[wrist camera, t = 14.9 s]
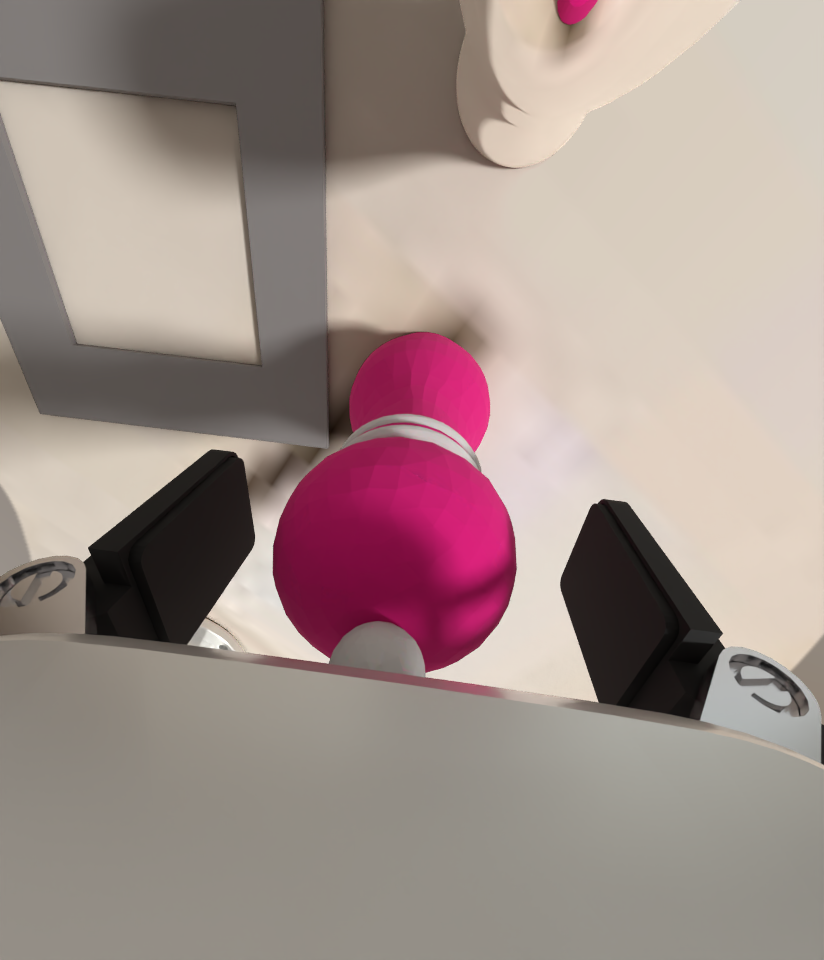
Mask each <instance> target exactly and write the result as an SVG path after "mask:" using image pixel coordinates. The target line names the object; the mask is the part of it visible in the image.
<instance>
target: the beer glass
mask: <svg viewBox="0 0 824 960" xmlns="http://www.w3.org/2000/svg"><path fill="white" fill-rule="evenodd" d="M459 1H460V7H461V12H462V17H463V21H464V25H465V29H466V34H465V36H464V40H463V43H462V47H461V51H460V55H459V60H458V67H457V76H456V96H457V105H458V111H459V115H460V119H461V122H462V125H463V127H464V130H465V132H466V134H467V136H468V138H469V139H470V141H471V142H472V144H473V145H474V146H475V148H476V149H477V150H478V151H479V152H480V153H481V154H482V155H483V156H484V157H486V158H487V159H489V160H490V161H492V162H494V163H496V164H498V165H501V166H505V167H511V168H521V167H527V166H531V165H535V164H537V163H540V162H542V161H544V160H546V159H547V158H549V157H550V156H552V155H553V154H555V153H556V152H557V151H558V150H560V149H561V148H562V147H563V146H564V145H565V144H566V143H567V142H568V141H569V139H570V138H571V137H572V136H573V135H574V133H575V132H576V131H577V129H578V128H579V126H580V125H581V123H582V122H583V120H584V118H585V116H586V114H587V113H588V112H591V111H593V110H595V109H598V108H600V107H602V106H605V105H607V104H609V103H610V102H612V101H614V100H616V99H618V98H619V97H621V96H623V95H625V94H626V93H628V92H630V91H632V90H633V89H635V88H637V87H639V86H640V85H642V84H643V83H645V82H646V81H648V80H650V79H651V78H652V77H654V76H655V75H656V74H658V73H659V72H660V71H662V70H663V69H664V68H665V67H667V66H668V65H669V64H670V63H671V62H673V61H674V60H675V59H676V58H678V57H679V56H680V55H681V54H683V53H684V52H685V51H686V50H688V49H689V48H690V47H691V46H692V45H694V44H695V43H696V42H697V41H698V40H700V39H701V38H702V37H703V36H704V35H705V34H706V33H707V32H708V31H710V30H711V29H712V28H713V27H714V26H715V25H716V24H717V23H718V22H719V21H720V20H721V19H722V18H723V17H724V16H725V15H726V14H727V13H729V12H730V11H731V10H732V9H733V8H734V7H735V6H736V5H737V4H738V3H739V2H740V1H741V0H459Z"/></svg>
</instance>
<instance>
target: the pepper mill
mask: <svg viewBox="0 0 824 960" xmlns="http://www.w3.org/2000/svg"><path fill="white" fill-rule="evenodd" d="M349 405H350V421H351V426H352V430H353V434H352V435H351V436H350V437H349V438H348V439H347V440H346V441H345V443H344V444H343V446H342V447H341V449H340V451H338V452H336V453H333V454H331V455H329V456H327V457H326V458H325V459H324V460H323V461H322V462H320V463H319V464H318V465H317V466H316V467H315V468H314V469H313V470H311V471H310V472H309V473H308V474H307V475H306V476H305V477H304V478H303V479H302V480H301V482H300V483H299V484H298V486H297V487H296V489H295V490H294V492H293V493H292V495H291V497H290V499H289V500H288V502H287V504H286V506H285V509H284V511H283V513H282V515H281V517H280V520H279V524H278V528H277V532H276V536H275V540H274V545H273V577H274V581H275V586H276V589H277V592H278V595H279V597H280V600H281V602H282V605H283V608H284V610H285V613H286V615H287V616H288V618H289V619H290V621H291V622H292V624H293V625H294V626H295V628H296V629H297V631H298V632H299V633H300V634H301V635H302V636H303V637H304V638H305V639H306V640H307V641H308V642H309V643H310V644H311V645H312V646H313V647H315V648H316V649H317V650H319V651H320V652H322V653H323V654H324V655H326V656H327V657H329V658H330V661H329V664H333V665H340V666H348V667H355V668H362V669H369V670H376V671H384V672H391V673H398V674H405V675H412V676H419V677H425V673H426V672H430V671H434V670H437V669H441V668H444V667H446V666H449V665H451V664H453V663H455V662H457V661H459V660H460V659H462V658H463V657H465V656H466V655H468V654H469V653H471V652H472V651H474V650H475V649H477V648H478V647H479V646H480V645H481V644H482V643H483V642H484V641H485V639H486V638H487V637H488V636H489V635H490V633H491V632H492V631H493V630H494V629H495V628H496V626H497V625H498V624H499V622H500V620H501V618H502V616H503V614H504V612H505V611H506V609H507V607H508V605H509V601H510V597H511V594H512V590H513V587H514V581H515V576H516V570H517V567H516V548H515V536H514V532H513V527H512V523H511V520H510V516H509V514H508V512H507V509H506V507H505V505H504V504H503V502H502V500H501V499H500V497H499V495H498V494H497V492H496V490H495V489H494V487H493V486H492V484H491V482H490V481H489V479H488V478H487V477H485V476H484V475H483V474H482V473H481V467H480V464H479V461H478V459H477V456H476V455H475V453H474V452H475V451H476V450H477V448H478V447H479V445H480V443H481V441H482V439H483V436H484V434H485V432H486V430H487V427H488V422H489V416H490V399H489V392H488V386H487V382H486V379H485V376H484V374H483V372H482V370H481V369H480V367H479V365H478V364H477V363H476V361H475V360H474V359H473V357H472V356H471V355H470V354H469V353H468V352H467V351H465V350H464V349H463V348H462V347H460V346H459V345H457V344H456V343H454V342H453V341H451V340H450V339H448V338H446V337H444V336H441V335H439V334H435V333H430V332H417V333H412V334H408V335H405V336H401V337H398V338H395V339H392V340H390V341H388V342H386V343H385V344H383V345H381V346H380V347H379V348H377V349H376V350H375V351H373V352H372V353H371V354H370V356H369V357H368V358H367V359H366V360H365V361H364V363H363V365H362V366H361V368H360V369H359V371H358V374H357V376H356V379H355V381H354V383H353V386H352V390H351V394H350V399H349Z"/></svg>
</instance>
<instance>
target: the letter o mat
mask: <svg viewBox="0 0 824 960" xmlns="http://www.w3.org/2000/svg"><path fill="white" fill-rule="evenodd" d="M0 80H7V81H17V82H26V83H35V84H44V85H53V86H62V87H71V88H80V89H90V90H99V91H108V92H117V93H126V94H135V95H144V96H153V97H163V98H172V99H181V100H190V101H199V102H208V103H217V104H226V105H236V110H237V120H238V130H239V140H240V150H241V160H242V170H243V180H244V190H245V200H246V210H247V220H248V230H249V240H250V250H251V260H252V270H253V280H254V291H255V301H256V311H257V321H258V331H259V341H260V351H261V361H262V366H259V365H251V364H242V363H234V362H225V361H217V360H208V359H200V358H191V357H183V356H175V355H166V354H158V353H149V352H141V351H132V350H124V349H115V348H107V347H98V346H90V345H81V344H77V343H76V340H75V337H74V334H73V331H72V328H71V325H70V322H69V319H68V316H67V313H66V310H65V307H64V304H63V301H62V298H61V295H60V292H59V289H58V286H57V283H56V280H55V277H54V274H53V271H52V268H51V265H50V262H49V259H48V256H47V253H46V250H45V247H44V244H43V241H42V238H41V235H40V232H39V229H38V226H37V223H36V220H35V217H34V214H33V211H32V208H31V205H30V202H29V199H28V196H27V193H26V190H25V187H24V184H23V181H22V178H21V175H20V172H19V169H18V166H17V163H16V160H15V157H14V154H13V151H12V148H11V145H10V142H9V139H8V136H7V133H6V130H5V127H4V124H3V121H2V118H1V115H0V319H1V321H2V324H3V326H4V328H5V331H6V333H7V336H8V338H9V340H10V343H11V345H12V348H13V350H14V352H15V355H16V357H17V359H18V362H19V364H20V367H21V369H22V371H23V374H24V376H25V379H26V381H27V383H28V386H29V388H30V391H31V393H32V395H33V398H34V400H35V403H36V405H37V407H38V410H39V412H40V414H45V415H54V416H62V417H70V418H78V419H87V420H95V421H103V422H112V423H120V424H128V425H136V426H145V427H153V428H161V429H170V430H178V431H186V432H194V433H203V434H211V435H219V436H228V437H236V438H244V439H252V440H261V441H269V442H277V443H286V444H294V445H302V446H310V447H319V448H327V449H328V447H329V407H328V331H327V256H326V180H325V105H324V29H323V0H0Z"/></svg>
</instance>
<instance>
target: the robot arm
mask: <svg viewBox="0 0 824 960" xmlns="http://www.w3.org/2000/svg"><path fill="white" fill-rule="evenodd" d="M254 542H255V532H254V526H253V519H252V513H251V506H250V499H249V493H248V486H247V480H246V473H245V467H244V462H243V460H242V459H241V458H238V456H237V454H236V453H234V452H229V451H222V450H210V451H208V452H207V453H206V454H204V455H203V456H202V457H201V458H199V459H198V460H197V461H196V462H194V463H193V464H192V465H191V466H189V467H188V468H187V469H186V470H184V471H183V472H182V473H181V474H179V475H178V476H177V477H176V478H174V479H173V480H172V481H171V482H169V483H168V484H167V485H166V486H164V487H163V488H162V489H161V490H159V491H158V492H157V493H156V494H154V495H153V496H152V497H151V498H149V499H148V500H147V501H146V502H145V503H143V504H142V505H141V506H140V507H138V508H137V509H136V510H135V511H133V512H132V513H131V514H130V515H128V516H127V517H126V518H125V519H123V520H122V521H121V522H120V523H118V524H117V525H116V526H115V527H113V528H112V529H111V530H110V531H108V532H107V533H106V534H105V535H103V536H102V537H101V538H100V539H98V540H97V541H96V542H95V543H93V544H92V545H91V546H90V547H88V549H89V551H90V554H91V556H90V557H89V558H88V559H86V560H85V561H84V562H82V561H81V560H80V559H78V558H75V557H70V556H52V557H47V558H42V559H38V560H35V561H31V562H28V563H26V564H23V565H21V566H18V567H16V568H14V569H12V570H10V571H8V572H7V573H5V574H4V575H2V576H0V960H824V725H822V724H821V712H820V708H819V704H818V702H817V701H816V699H815V697H814V696H813V694H812V693H811V691H810V690H809V689H808V688H807V687H806V686H805V685H804V684H803V682H801V680H800V679H799V678H798V677H796V676H795V675H794V674H793V673H791V672H790V671H789V670H788V669H787V668H785V667H784V666H782V665H781V664H779V663H778V662H776V661H774V660H773V659H771V658H769V657H767V656H765V655H763V654H761V653H759V652H757V651H754V650H750V649H747V648H743V647H729V648H726V649H725V648H724V646H723V645H722V643H721V642H720V640H719V638H720V636H721V635H722V634H723V633H722V631H721V630H720V629H719V627H718V626H717V625H716V623H715V622H714V620H713V619H712V618H711V616H710V615H709V614H708V612H707V611H706V610H705V608H704V607H703V605H702V604H701V603H700V601H699V600H698V599H697V597H696V596H695V594H694V593H693V592H692V590H691V589H690V588H689V586H688V585H687V583H686V582H685V581H684V579H683V578H682V577H681V575H680V574H679V573H678V571H677V570H676V568H675V567H674V566H673V564H672V563H671V562H670V560H669V559H668V557H667V556H666V555H665V553H664V552H663V551H662V549H661V548H660V546H659V545H658V544H657V542H656V541H655V540H654V538H653V537H652V536H651V534H650V533H649V531H648V530H647V529H646V527H645V526H644V525H643V523H642V522H641V520H640V519H639V518H638V516H637V515H636V514H635V512H634V511H633V509H632V508H631V507H630V505H629V504H628V503H627V502H622V501H614V500H606V499H603V500H601V501H600V502H599V503H598V504H593V505H592V506H591V508H590V510H589V512H588V515H587V517H586V519H585V522H584V524H583V526H582V529H581V531H580V534H579V536H578V538H577V541H576V543H575V546H574V548H573V550H572V553H571V555H570V558H569V560H568V562H567V565H566V567H565V569H564V572H563V574H562V577H561V582H560V587H561V592H562V595H563V598H564V601H565V604H566V607H567V610H568V613H569V615H570V618H571V621H572V624H573V627H574V630H575V633H576V636H577V639H578V642H579V645H580V648H581V651H582V654H583V657H584V660H585V663H586V666H587V669H588V672H589V675H590V678H591V681H592V684H593V687H594V690H595V693H596V696H597V699H598V702H599V703H597V702H591V701H585V700H578V699H572V698H565V697H558V696H551V695H544V694H537V693H530V692H523V691H517V690H510V689H503V688H496V687H489V686H482V685H475V684H469V683H462V682H455V681H448V680H440V679H433V678H426V677H419V676H412V675H405V674H398V673H391V672H384V671H376V670H369V669H362V668H355V667H348V666H340V665H333V664H326V663H319V662H312V661H304V660H297V659H289V658H282V657H275V656H267V655H260V654H252V653H245V652H244V651H243V649H242V647H241V646H240V644H239V643H238V642H237V640H236V639H235V638H234V637H233V636H232V635H231V634H230V633H229V632H227V631H226V630H225V629H223V628H222V627H220V626H219V625H217V624H216V623H214V622H212V621H210V620H208V619H206V616H207V615H208V613H209V612H210V611H211V609H212V608H213V606H214V605H215V603H216V602H217V600H218V599H219V597H220V596H221V594H222V593H223V591H224V590H225V588H226V587H227V585H228V584H229V582H230V581H231V579H232V578H233V577H234V575H235V574H236V572H237V571H238V569H239V568H240V566H241V565H242V563H243V562H244V560H245V559H246V557H247V556H248V554H249V553H250V551H251V550H252V548H253V546H254Z"/></svg>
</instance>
